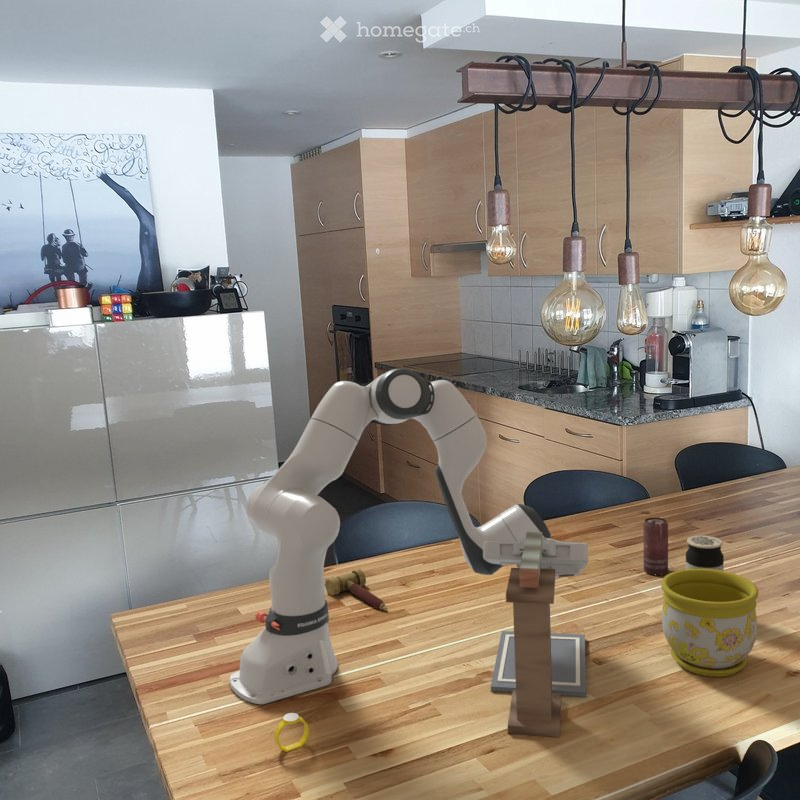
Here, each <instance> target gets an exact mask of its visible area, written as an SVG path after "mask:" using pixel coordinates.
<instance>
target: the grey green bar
mask: <svg viewBox="0 0 800 800" xmlns="http://www.w3.org/2000/svg"><path fill="white" fill-rule="evenodd" d="M541 542H542V532H526V538H525V543H524V549H523V555H522V561H521V566H520V569H519V581H520V587H532V588H539V575H540V566H541V557H542V552H541V547H542V546H541Z"/></svg>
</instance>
